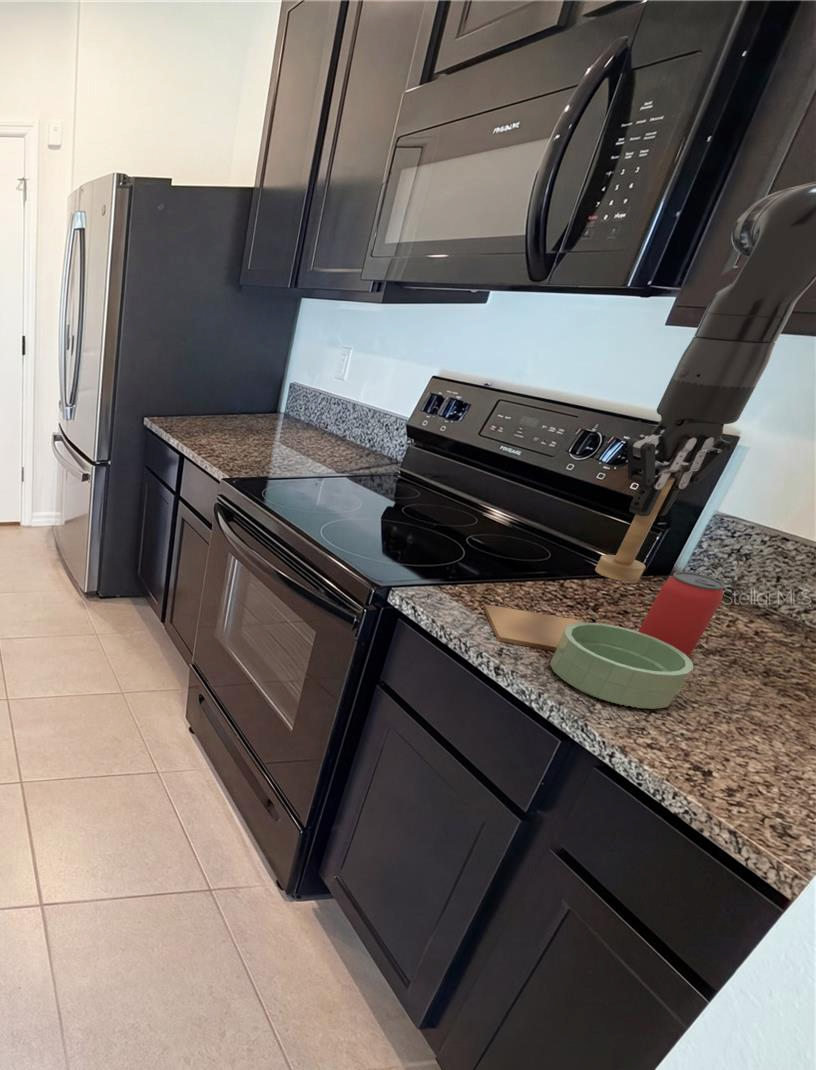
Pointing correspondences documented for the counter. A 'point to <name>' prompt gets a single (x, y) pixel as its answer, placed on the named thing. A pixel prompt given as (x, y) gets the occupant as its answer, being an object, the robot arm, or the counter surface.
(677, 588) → the beer can
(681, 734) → the counter surface
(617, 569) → the muddler
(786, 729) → the counter surface
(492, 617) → the plate
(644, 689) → the bowl
